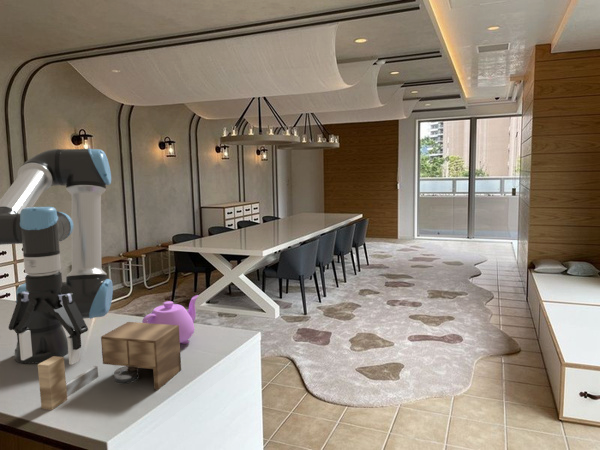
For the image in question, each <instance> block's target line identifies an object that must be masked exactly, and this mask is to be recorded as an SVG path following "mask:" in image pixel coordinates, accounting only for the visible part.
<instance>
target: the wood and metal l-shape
mask: <svg viewBox="0 0 600 450" xmlns="http://www.w3.org/2000/svg"><path fill="white" fill-rule="evenodd" d="M37 370H38V371H37V372H38V373H37V374H38V383H39V394H40V396H39V397H40V403H41V410H51V411H53V410H54V409H55V408H57V407H58V406H60V405H62V404H63V403H65V402H67V401H68V397H70V396H71V395H73V394H74V393H76V392H77V391H79V390H80V389H82V388H84V387H85V386H86V385H88V384H89V383H91V382H92V381H94V380H95V379H97V378H98V377H99V369H98V366H97V365H93V366H92V367H90V368H88V369H87V370H86V371H84V372H82V373H80V374H79V375H77V376H76V377H74V378H73V379H71V380H69V381H68V382H67V380H66V367H65V357H64V356H62V357H56V356H53V357H51V358H49V359H47V360H45V361H43V362H41V363H37Z"/></svg>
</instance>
